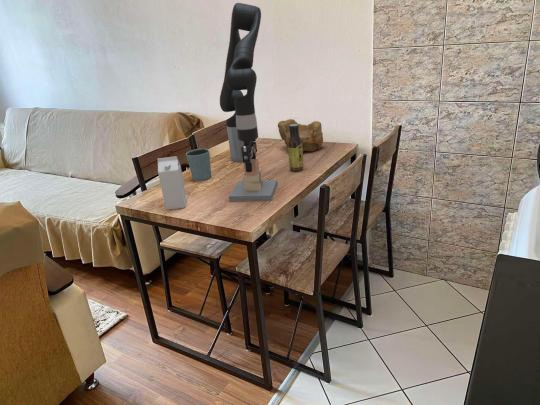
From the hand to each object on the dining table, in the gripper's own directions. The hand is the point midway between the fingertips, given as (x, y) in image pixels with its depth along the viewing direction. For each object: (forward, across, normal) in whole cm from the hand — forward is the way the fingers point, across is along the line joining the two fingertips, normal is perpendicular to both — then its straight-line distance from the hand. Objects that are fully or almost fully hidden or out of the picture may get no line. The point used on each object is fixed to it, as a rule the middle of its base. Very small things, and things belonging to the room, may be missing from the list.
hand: (251, 168), depth 153 cm
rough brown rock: (+10, +55, -12) cm, 57 cm away
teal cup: (+10, +19, +28) cm, 35 cm away
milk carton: (+10, -11, +28) cm, 32 cm away
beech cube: (+8, 0, 0) cm, 8 cm away
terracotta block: (+2, 0, 0) cm, 2 cm away
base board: (+10, 0, 0) cm, 10 cm away
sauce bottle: (+10, +26, -14) cm, 31 cm away
